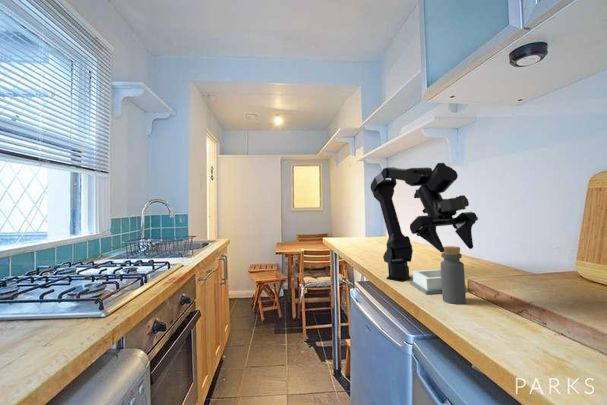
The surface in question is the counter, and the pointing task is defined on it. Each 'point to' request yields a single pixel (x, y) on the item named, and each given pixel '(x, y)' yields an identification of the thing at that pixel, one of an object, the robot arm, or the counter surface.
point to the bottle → (452, 276)
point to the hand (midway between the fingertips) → (457, 250)
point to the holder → (428, 281)
